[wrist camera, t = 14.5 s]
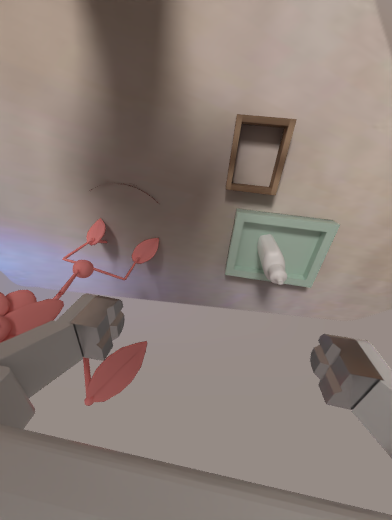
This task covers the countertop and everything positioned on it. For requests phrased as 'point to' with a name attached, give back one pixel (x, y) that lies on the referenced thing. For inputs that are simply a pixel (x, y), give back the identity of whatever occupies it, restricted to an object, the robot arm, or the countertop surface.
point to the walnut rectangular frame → (281, 156)
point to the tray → (280, 245)
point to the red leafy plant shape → (38, 313)
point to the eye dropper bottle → (271, 259)
